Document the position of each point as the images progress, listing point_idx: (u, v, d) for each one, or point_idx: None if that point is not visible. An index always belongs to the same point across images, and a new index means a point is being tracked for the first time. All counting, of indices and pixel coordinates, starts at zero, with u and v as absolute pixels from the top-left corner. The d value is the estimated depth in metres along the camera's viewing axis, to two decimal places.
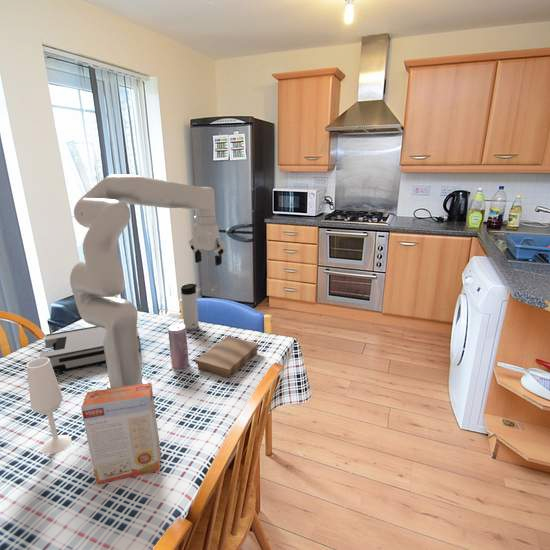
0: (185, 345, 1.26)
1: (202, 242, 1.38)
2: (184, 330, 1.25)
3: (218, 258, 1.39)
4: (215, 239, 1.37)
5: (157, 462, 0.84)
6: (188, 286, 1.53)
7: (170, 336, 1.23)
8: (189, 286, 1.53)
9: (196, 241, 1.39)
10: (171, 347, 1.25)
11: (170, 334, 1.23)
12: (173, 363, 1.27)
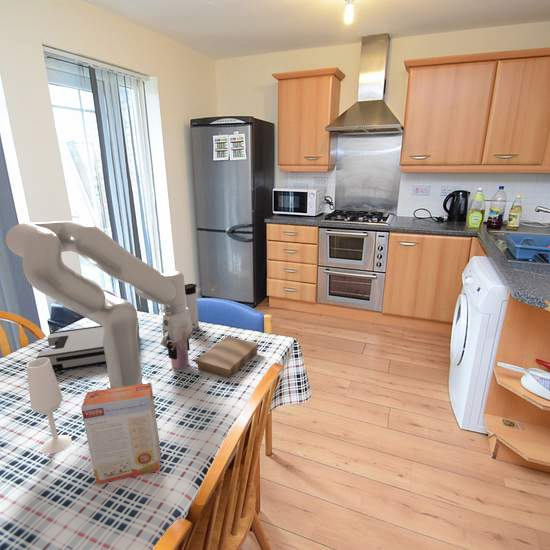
0: (185, 345, 1.26)
1: None
2: (184, 330, 1.25)
3: None
4: None
5: (157, 462, 0.84)
6: (188, 286, 1.53)
7: None
8: (189, 286, 1.53)
9: (177, 333, 1.22)
10: None
11: None
12: (173, 363, 1.27)
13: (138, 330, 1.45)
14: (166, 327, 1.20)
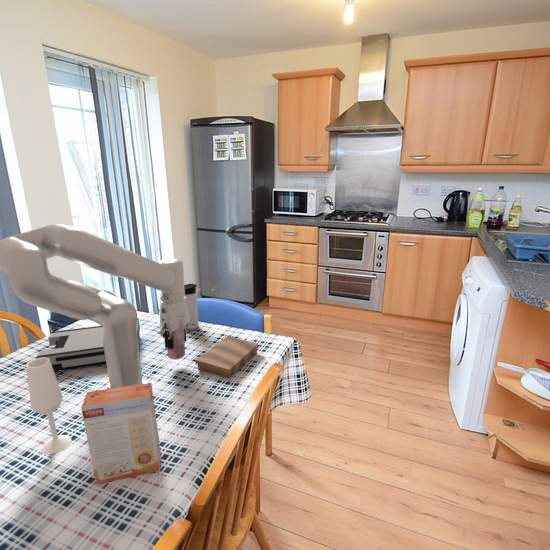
0: (182, 335, 1.24)
1: None
2: (181, 320, 1.23)
3: None
4: None
5: (157, 462, 0.84)
6: (188, 286, 1.53)
7: None
8: (189, 286, 1.53)
9: (174, 322, 1.20)
10: None
11: None
12: (169, 353, 1.24)
13: (138, 330, 1.45)
14: (163, 315, 1.18)
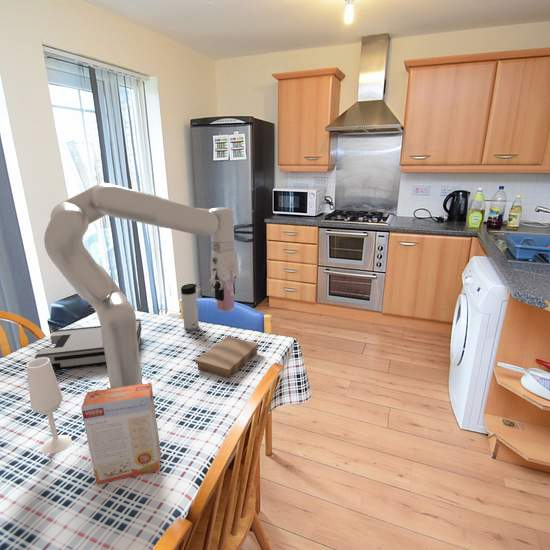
0: (232, 286, 1.22)
1: None
2: (231, 270, 1.21)
3: None
4: None
5: (157, 462, 0.84)
6: (188, 286, 1.53)
7: None
8: (189, 286, 1.53)
9: (225, 272, 1.18)
10: None
11: None
12: (219, 305, 1.23)
13: (139, 332, 1.44)
14: (215, 265, 1.16)
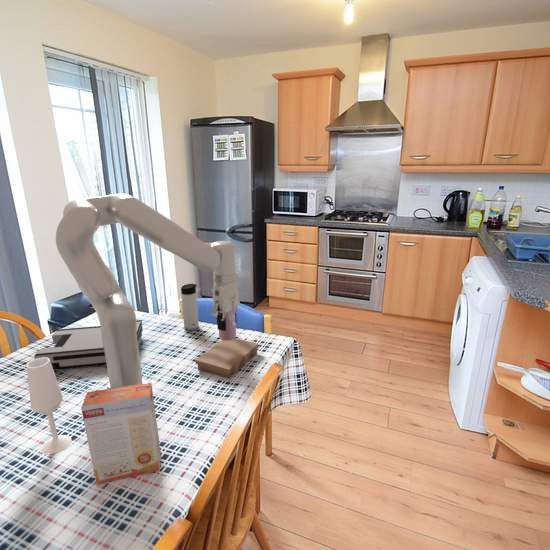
0: (234, 316, 1.26)
1: None
2: (233, 301, 1.24)
3: None
4: None
5: (157, 462, 0.84)
6: (188, 286, 1.53)
7: None
8: (189, 286, 1.53)
9: (227, 303, 1.21)
10: None
11: None
12: (221, 334, 1.26)
13: (140, 332, 1.43)
14: (217, 297, 1.20)
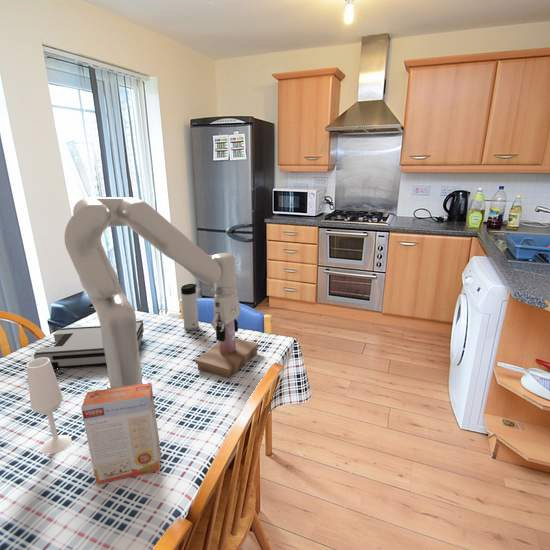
0: (233, 331, 1.27)
1: (232, 312, 1.25)
2: None
3: None
4: None
5: (157, 462, 0.84)
6: (188, 286, 1.53)
7: None
8: (189, 286, 1.53)
9: (228, 315, 1.22)
10: None
11: (219, 320, 1.24)
12: (221, 349, 1.28)
13: (140, 333, 1.43)
14: (217, 309, 1.21)
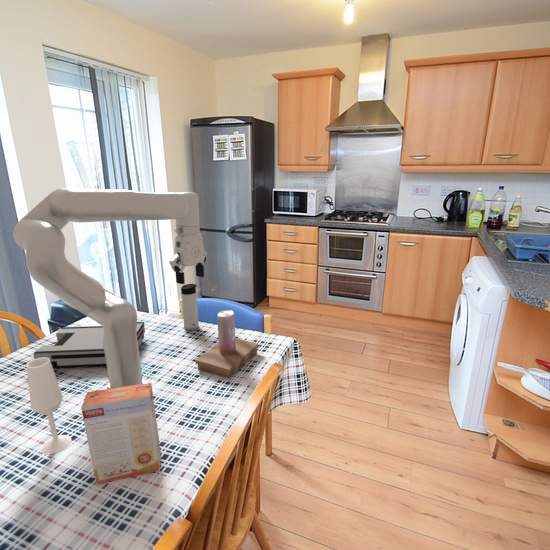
0: (233, 331, 1.27)
1: (195, 255, 1.20)
2: (233, 316, 1.26)
3: None
4: None
5: (157, 462, 0.84)
6: (188, 286, 1.53)
7: (220, 322, 1.25)
8: (189, 286, 1.53)
9: (189, 256, 1.18)
10: (220, 333, 1.26)
11: (220, 320, 1.24)
12: (221, 349, 1.28)
13: (140, 335, 1.42)
14: (178, 249, 1.17)
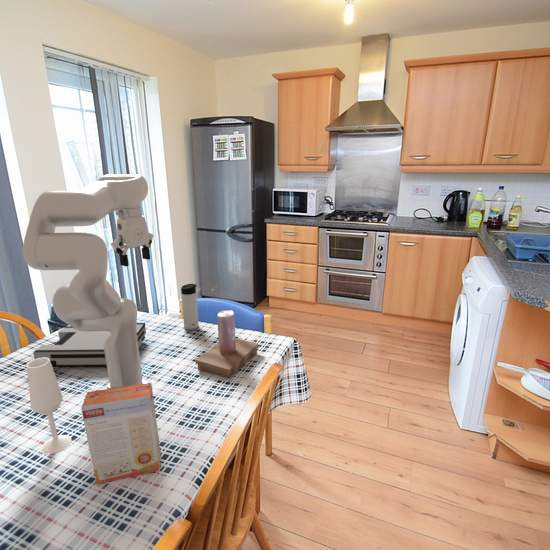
0: (233, 331, 1.27)
1: (138, 237, 1.22)
2: (233, 316, 1.26)
3: (148, 251, 1.29)
4: None
5: (157, 462, 0.84)
6: (188, 286, 1.53)
7: (220, 322, 1.25)
8: (189, 286, 1.53)
9: (131, 238, 1.19)
10: (220, 333, 1.26)
11: (220, 320, 1.24)
12: (221, 349, 1.28)
13: (140, 336, 1.41)
14: (120, 231, 1.18)
